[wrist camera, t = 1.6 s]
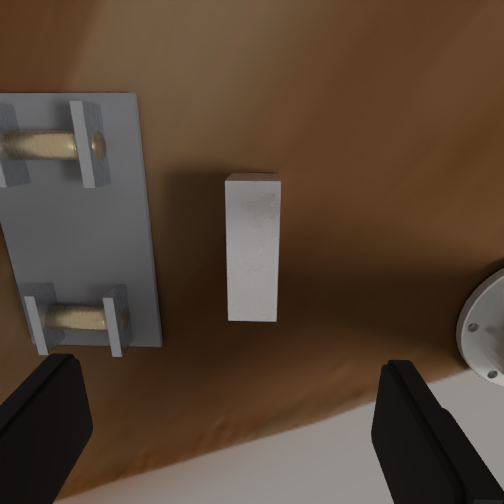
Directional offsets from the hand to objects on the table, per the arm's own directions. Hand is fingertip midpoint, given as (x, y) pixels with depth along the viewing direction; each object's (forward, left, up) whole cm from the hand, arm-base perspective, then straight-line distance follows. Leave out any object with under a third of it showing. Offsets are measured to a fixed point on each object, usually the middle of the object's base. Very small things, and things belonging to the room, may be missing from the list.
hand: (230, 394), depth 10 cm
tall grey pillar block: (0, 0, -18) cm, 18 cm away
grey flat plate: (+14, 0, -17) cm, 22 cm away
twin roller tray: (+14, 0, -17) cm, 22 cm away
